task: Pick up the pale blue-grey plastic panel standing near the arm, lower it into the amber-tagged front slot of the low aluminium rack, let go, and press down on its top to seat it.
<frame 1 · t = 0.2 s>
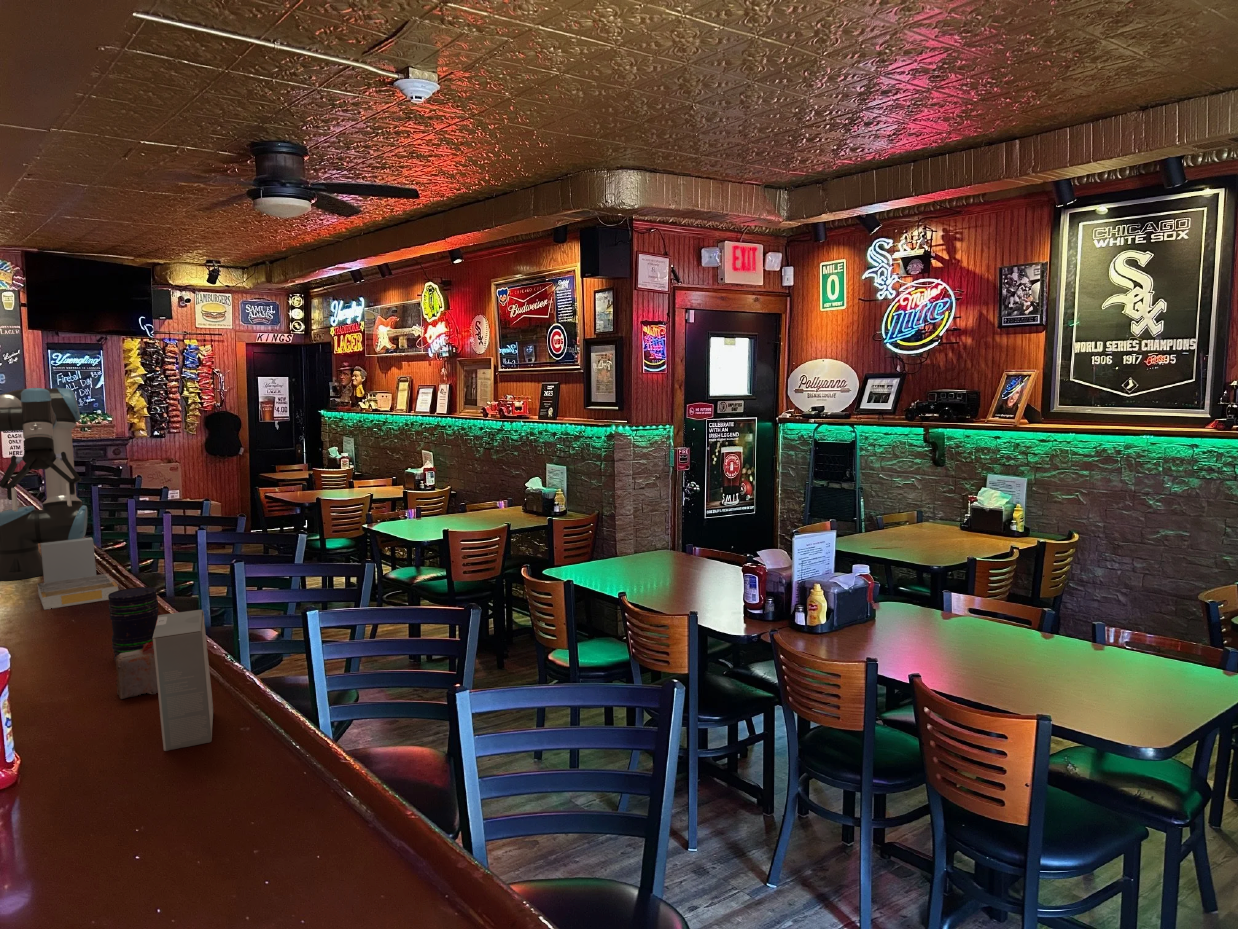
hand: (42, 508, 253), 28 cm above the bar counter, tool tilted 20°, fingers open, 13 cm apart
hard drive box: (189, 732, 151), on the bar counter
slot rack: (78, 596, 258), on the bar counter
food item: (156, 690, 174), on the bar counter
blanking panel: (71, 583, 277), on the bar counter
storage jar: (138, 656, 197), on the bar counter
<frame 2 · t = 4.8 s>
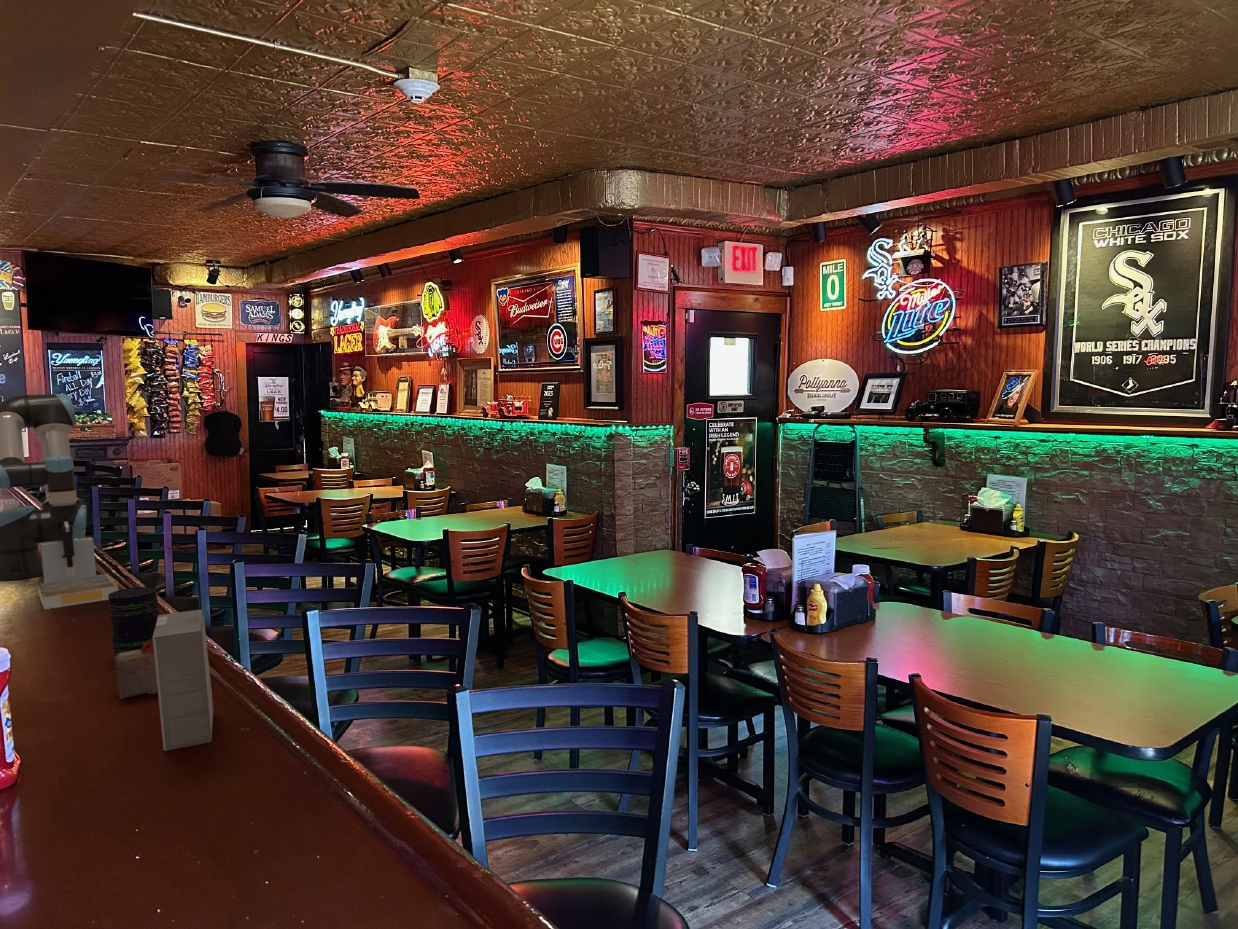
hand: (70, 575, 276), 3 cm above the bar counter, tool pointing down, fingers closed on blanking panel, 5 cm apart
blanking panel: (70, 583, 277), on the bar counter, touching gripper
everything else where it was.
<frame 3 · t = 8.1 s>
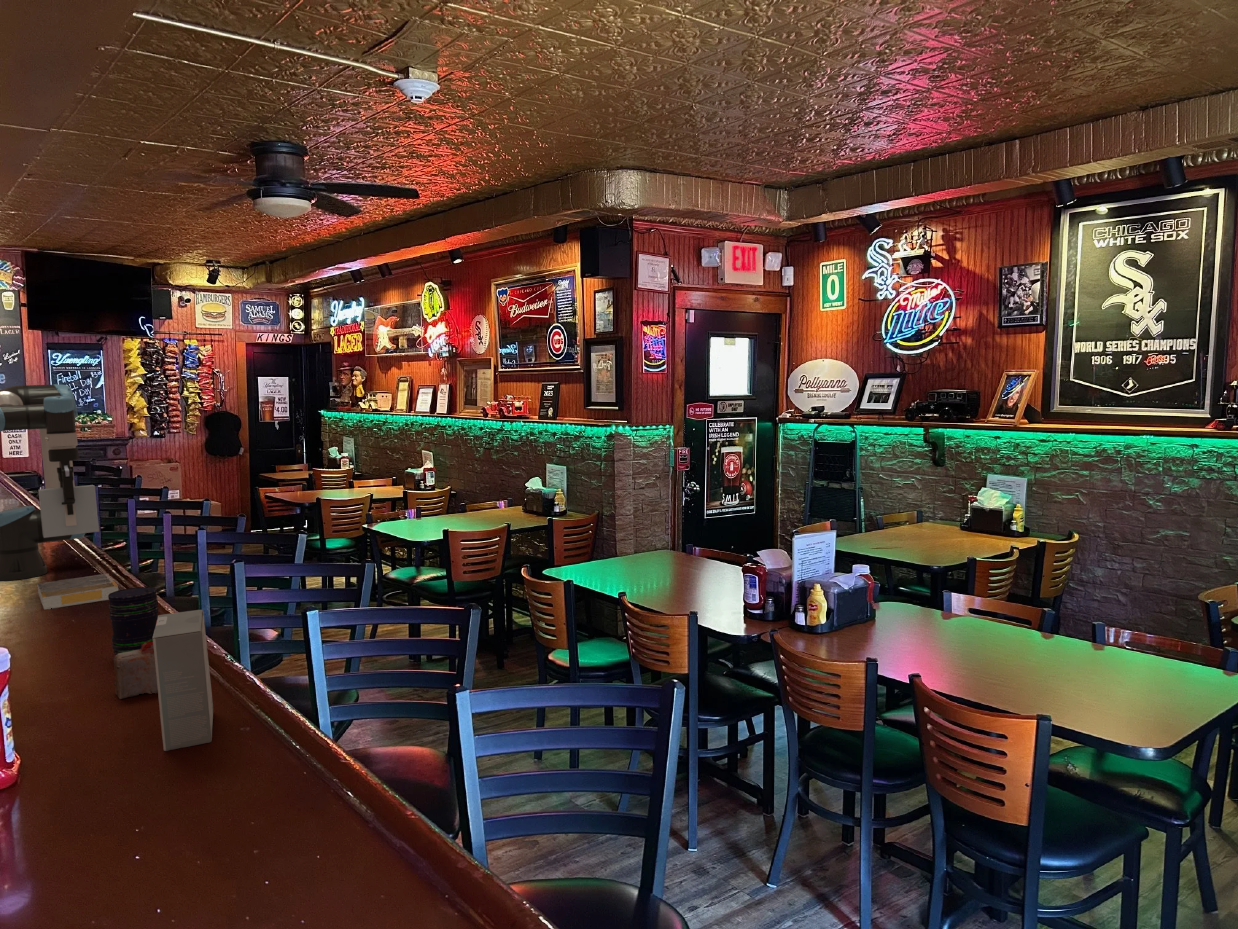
hand: (70, 524, 258), 22 cm above the bar counter, tool pointing down, fingers closed on blanking panel, 5 cm apart
blanking panel: (71, 533, 258), point 19 cm above the bar counter, touching gripper
everything else where it was.
when the fingers open (5 cm above the bar counter, at t = 11.5 s): blanking panel drops 1 cm, resting on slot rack.
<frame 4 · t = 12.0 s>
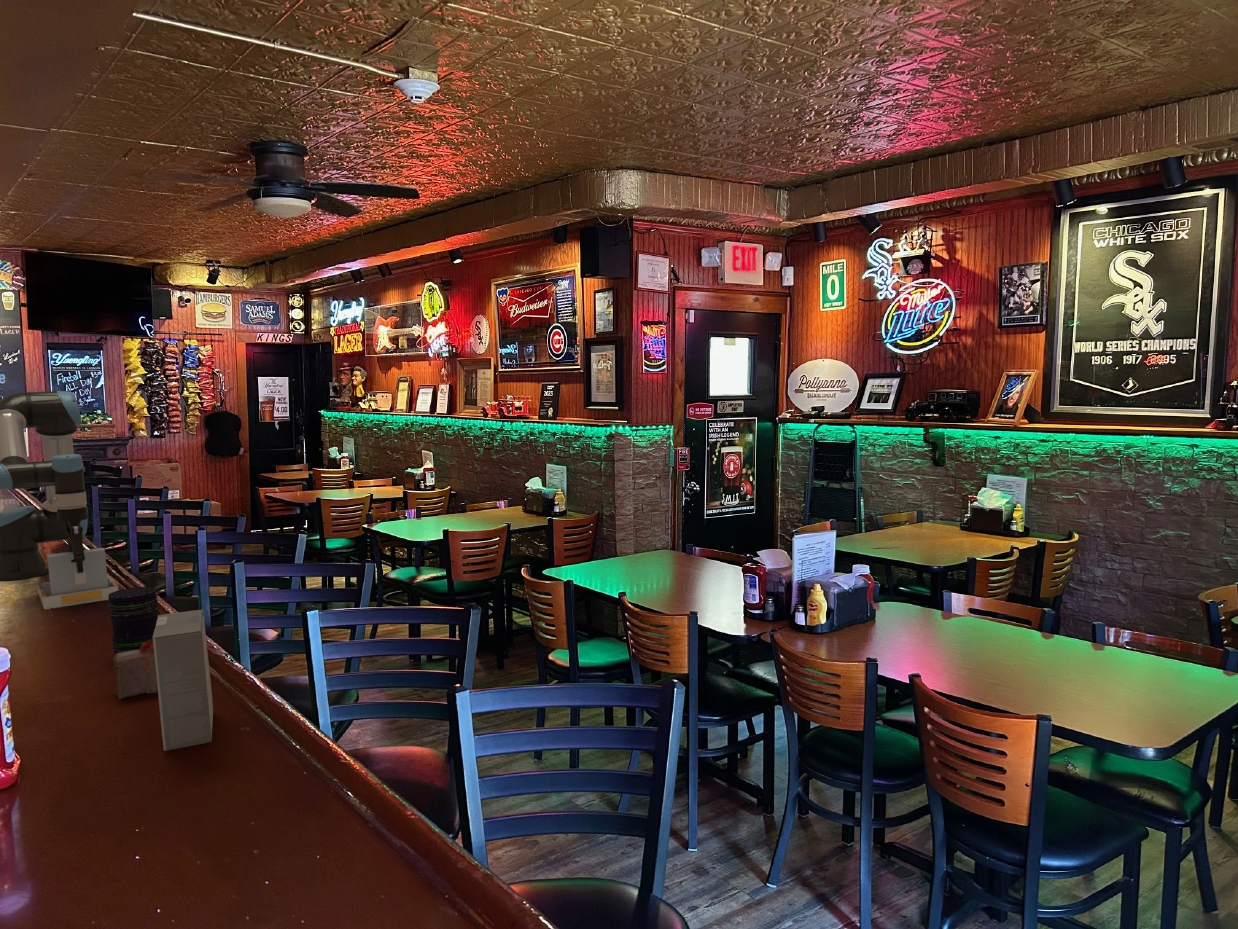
hand: (78, 580, 252), 6 cm above the bar counter, tool pointing down, fingers open, 12 cm apart
blanking panel: (80, 599, 252), point 1 cm above the bar counter, touching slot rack
everything else where it was.
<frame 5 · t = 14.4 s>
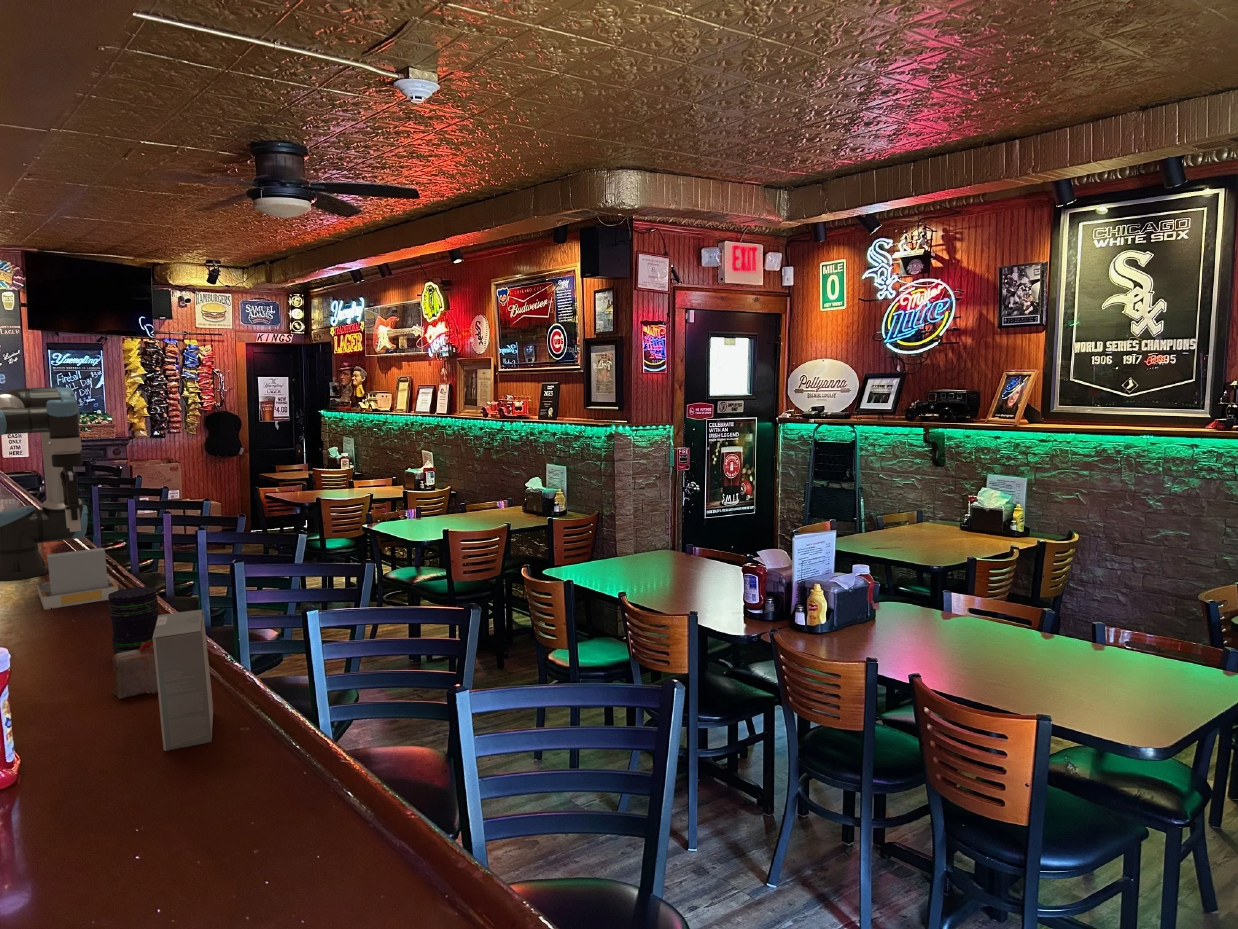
hand: (73, 529, 250), 21 cm above the bar counter, tool pointing down, fingers open, 9 cm apart
nothing on the bar counter moved.
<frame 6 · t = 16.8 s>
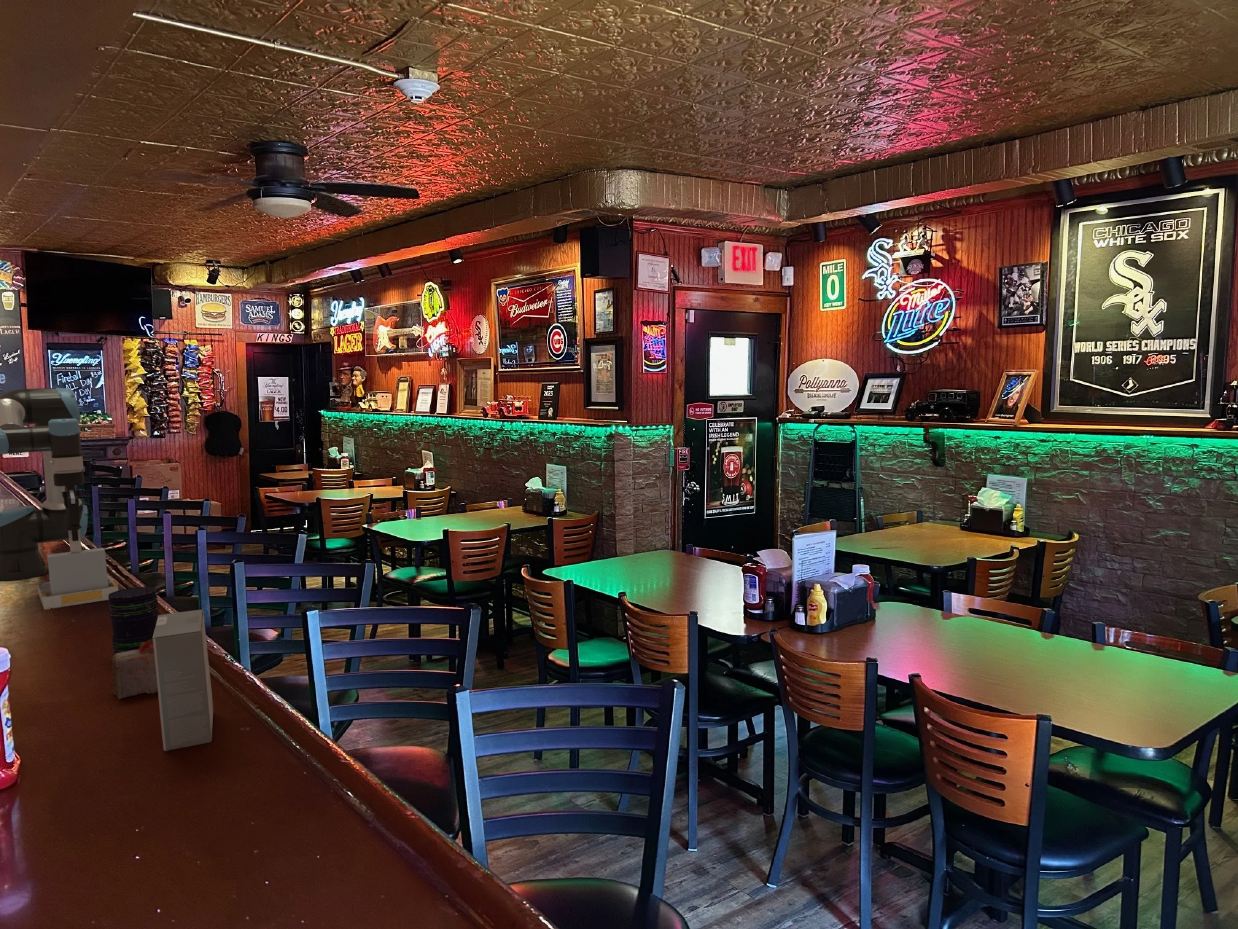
hand: (76, 551, 251), 15 cm above the bar counter, tool pointing down, fingers closed
blanking panel: (80, 599, 252), point 1 cm above the bar counter, touching gripper, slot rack
everything else where it was.
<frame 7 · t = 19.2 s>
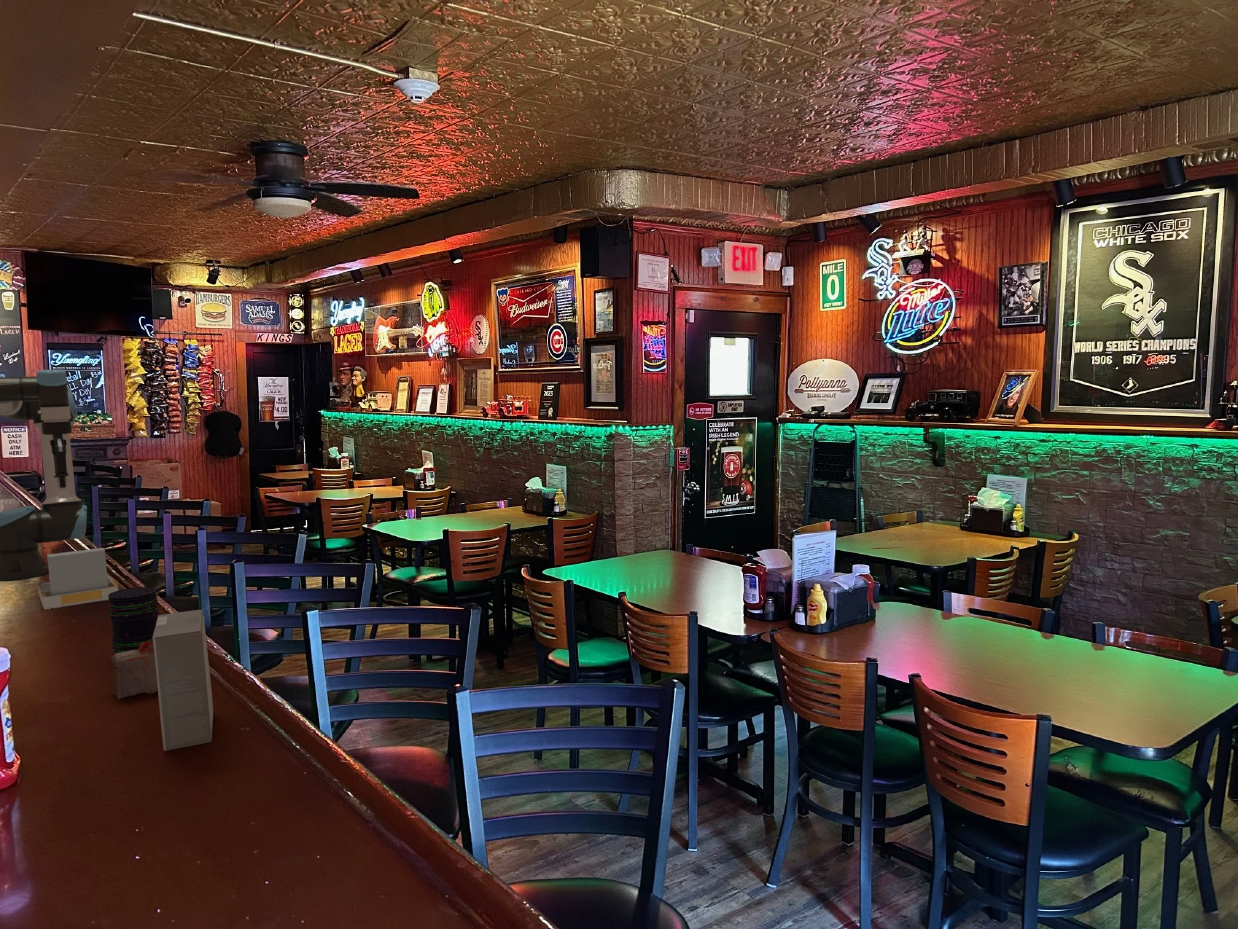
hand: (63, 497, 261), 29 cm above the bar counter, tool pointing down, fingers closed
blanking panel: (80, 599, 252), point 1 cm above the bar counter, touching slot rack
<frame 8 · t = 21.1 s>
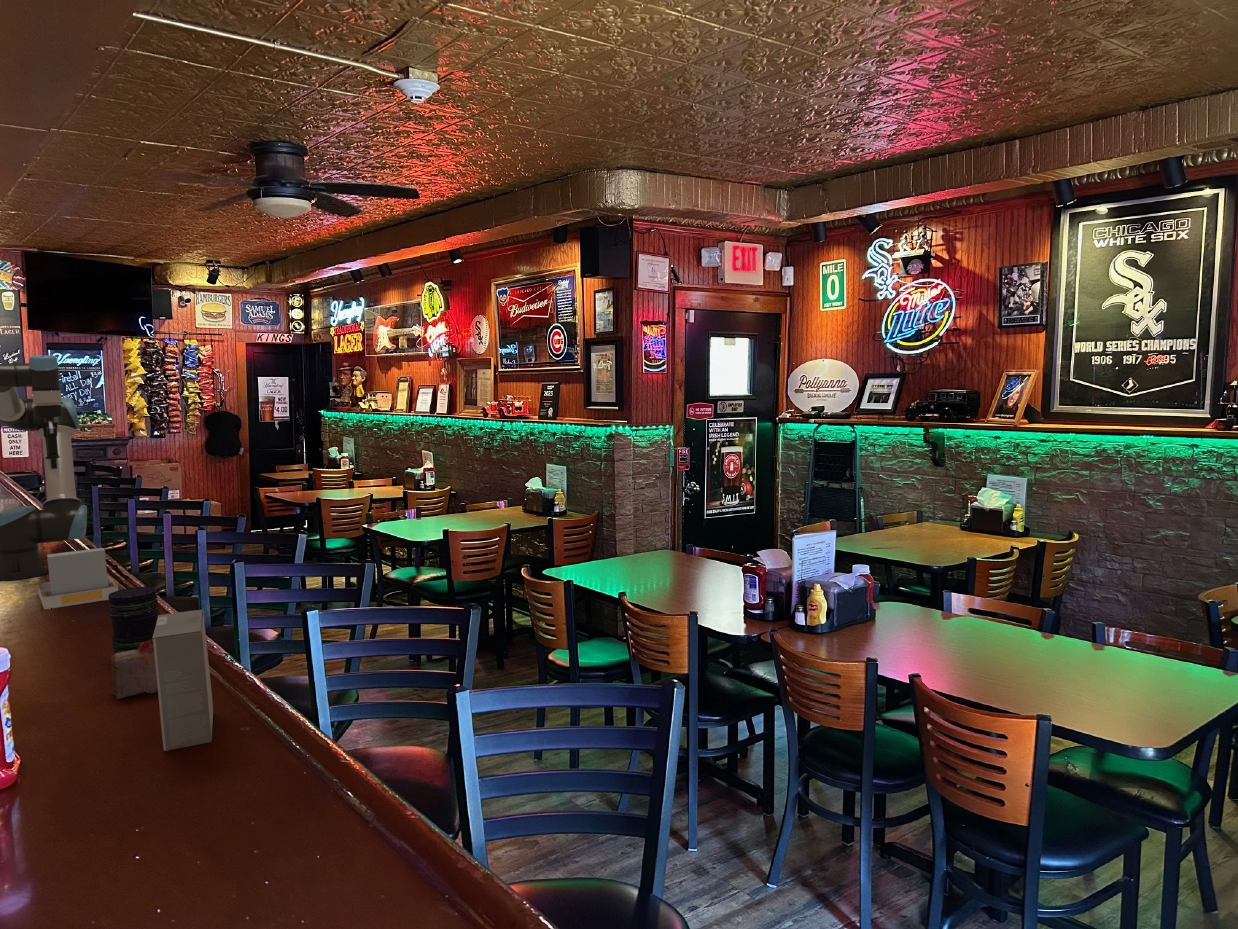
hand: (54, 478, 272), 34 cm above the bar counter, tool pointing down, fingers closed
at the end: blanking panel 0.0 cm from the target spot on the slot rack, point 0.6 cm above the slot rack's base; blanking panel tilted 0°; the gripper is holding nothing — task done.
